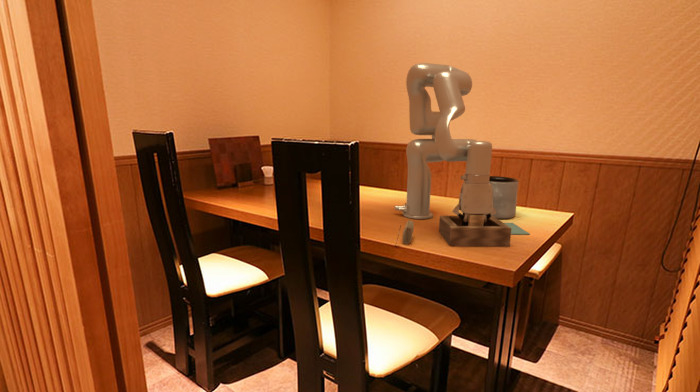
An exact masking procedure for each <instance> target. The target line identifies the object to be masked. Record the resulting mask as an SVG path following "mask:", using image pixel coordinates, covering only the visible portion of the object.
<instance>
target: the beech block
mask: <svg viewBox="0 0 700 392" xmlns="http://www.w3.org/2000/svg"><path fill="white" fill-rule="evenodd" d="M467 222H468V226H483V225H484V215H483V214H469V216H468V219H467Z"/></svg>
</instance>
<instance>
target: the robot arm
mask: <svg viewBox="0 0 700 392" xmlns="http://www.w3.org/2000/svg"><path fill="white" fill-rule="evenodd" d="M405 81H406V82H405V83H406V84H405V85H406V90H407V96H408V103H409V104H408V105H409V107H408V108H409V109H408V110H409V111H408V113H409V116H408V117H409V118H408V119H409V130H410V132H411V134H413V135H415V136H431V138H416V139H412V140H411V141H409V142H408V144H407V145H406V148H405V153H406V154H405V155H406V159H407V160H406V161H407V162H406V163H407V180H406V181H407V184H406V202H404V204H402V205H394V210H395V211H399V212H402V213H401V214H402V216H403V217H405V218H408V219H413V220H427V219H431V218H433V217H434V213H433V212H432V211H430V208H431V207H430V205H431V191H432V190H431V188H432V171H431V169H430V167H429V165H428V163H440V162H443V161H445V162H448V163H451V162H465V163H466V164H465V173H464V175H461V176H460V180H463V181H464V182H462V184H461V188H460V192H459V196H458V197H459V198H458V203H457V204H456V206H455V207H454V208H453V209H452V213H453V214H455V216H459V217H460V219H461V220H462V226H468V222H467V219H468V216H469V214H483V215H484V225H483V226H485V222H487V220H488V219H489V218H490V217H491V216H493V215H494V214H496V210H495V209H494V207H493V193H492V184H490V183H489V178H490V176H491V166H492V165H491V164H492V154H493V153H492V152H493V144H492V142H490V141H488V140H487V141H486V140H477V139H473V138H452V135H451V132H450V123H451V122H452V121H454V120H455V119H458V118H459V117H461V116H462V115H463V114H464V113H465V111H466V105H465V102H464V100H463V97H464V96H468V95H469V94H470V92H471V91H472V88H473V79H472V77H471V75H470V74H469V73H468V72H466V71H465V70H462V69H459V68H456V67H454V66H453V65H449V64H439V63H428V62H422V63H421V62H420V63H415V64H413V65H412V66H411V67H410V68H409V70H408V72H407V75H406V79H405ZM426 87H427V88H433V91H434V95H435V99H436V103H437V107H438V110H439V111H432V100H431V96H430V94H429V92H428V91H427V90H426ZM460 211H461V212H460Z"/></svg>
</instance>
